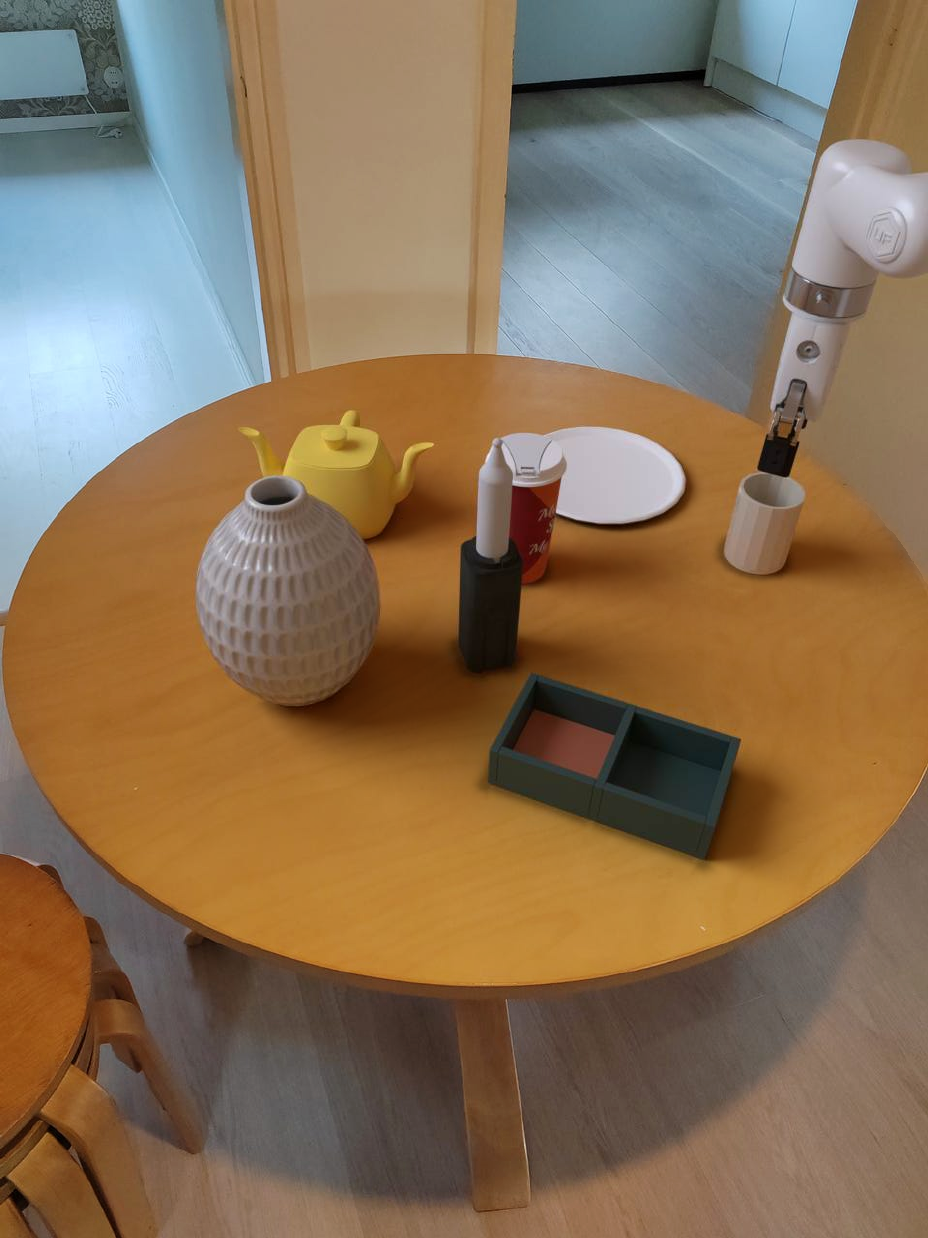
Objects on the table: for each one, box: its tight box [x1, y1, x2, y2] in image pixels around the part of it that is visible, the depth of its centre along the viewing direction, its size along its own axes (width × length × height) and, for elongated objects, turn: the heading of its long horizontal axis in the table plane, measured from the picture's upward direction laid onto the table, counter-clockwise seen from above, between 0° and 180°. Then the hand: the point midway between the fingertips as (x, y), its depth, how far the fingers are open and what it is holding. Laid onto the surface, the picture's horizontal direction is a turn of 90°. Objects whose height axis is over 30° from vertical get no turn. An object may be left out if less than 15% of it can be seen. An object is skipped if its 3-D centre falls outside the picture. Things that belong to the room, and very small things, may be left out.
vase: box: [194, 476, 382, 707], centre depth 88 cm, size 16×16×22 cm
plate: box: [542, 426, 687, 526], centre depth 121 cm, size 21×21×1 cm
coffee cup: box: [484, 432, 567, 585], centre depth 104 cm, size 8×8×15 cm
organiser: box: [487, 672, 742, 861], centre depth 86 cm, size 19×10×5 cm, turn 67°
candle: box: [457, 437, 523, 674], centre depth 90 cm, size 5×5×25 cm
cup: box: [723, 471, 807, 576], centre depth 108 cm, size 7×7×9 cm
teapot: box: [237, 409, 435, 540], centre depth 113 cm, size 22×16×11 cm
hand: (781, 448), depth 102 cm, fingers open, 9 cm apart
